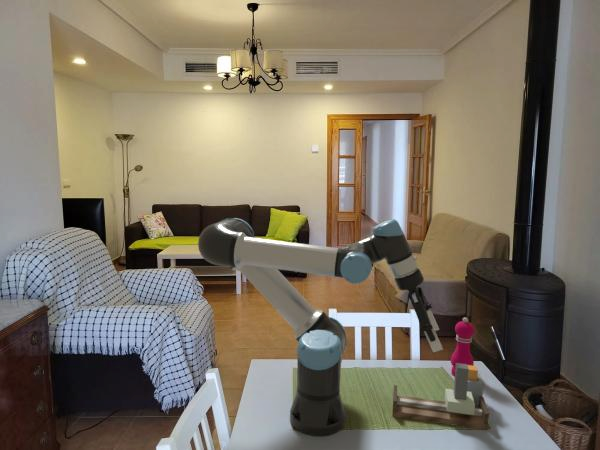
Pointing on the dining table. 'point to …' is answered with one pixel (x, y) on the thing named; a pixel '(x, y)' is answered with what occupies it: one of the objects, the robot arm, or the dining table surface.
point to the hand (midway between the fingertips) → (436, 340)
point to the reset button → (472, 372)
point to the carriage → (460, 393)
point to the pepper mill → (463, 344)
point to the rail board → (438, 411)
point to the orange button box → (476, 389)
